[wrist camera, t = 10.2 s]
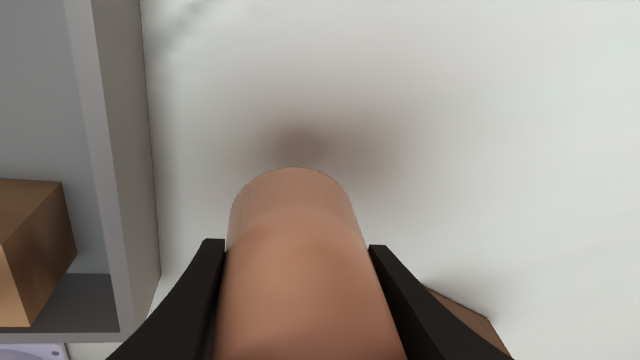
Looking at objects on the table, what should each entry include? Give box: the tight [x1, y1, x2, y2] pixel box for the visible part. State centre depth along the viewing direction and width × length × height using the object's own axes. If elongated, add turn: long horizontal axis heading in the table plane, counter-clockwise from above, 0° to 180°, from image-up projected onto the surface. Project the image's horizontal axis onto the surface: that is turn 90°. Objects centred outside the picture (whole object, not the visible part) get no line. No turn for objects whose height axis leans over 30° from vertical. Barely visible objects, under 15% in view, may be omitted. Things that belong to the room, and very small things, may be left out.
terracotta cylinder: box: [209, 167, 408, 360], centre depth 12 cm, size 5×5×7 cm
